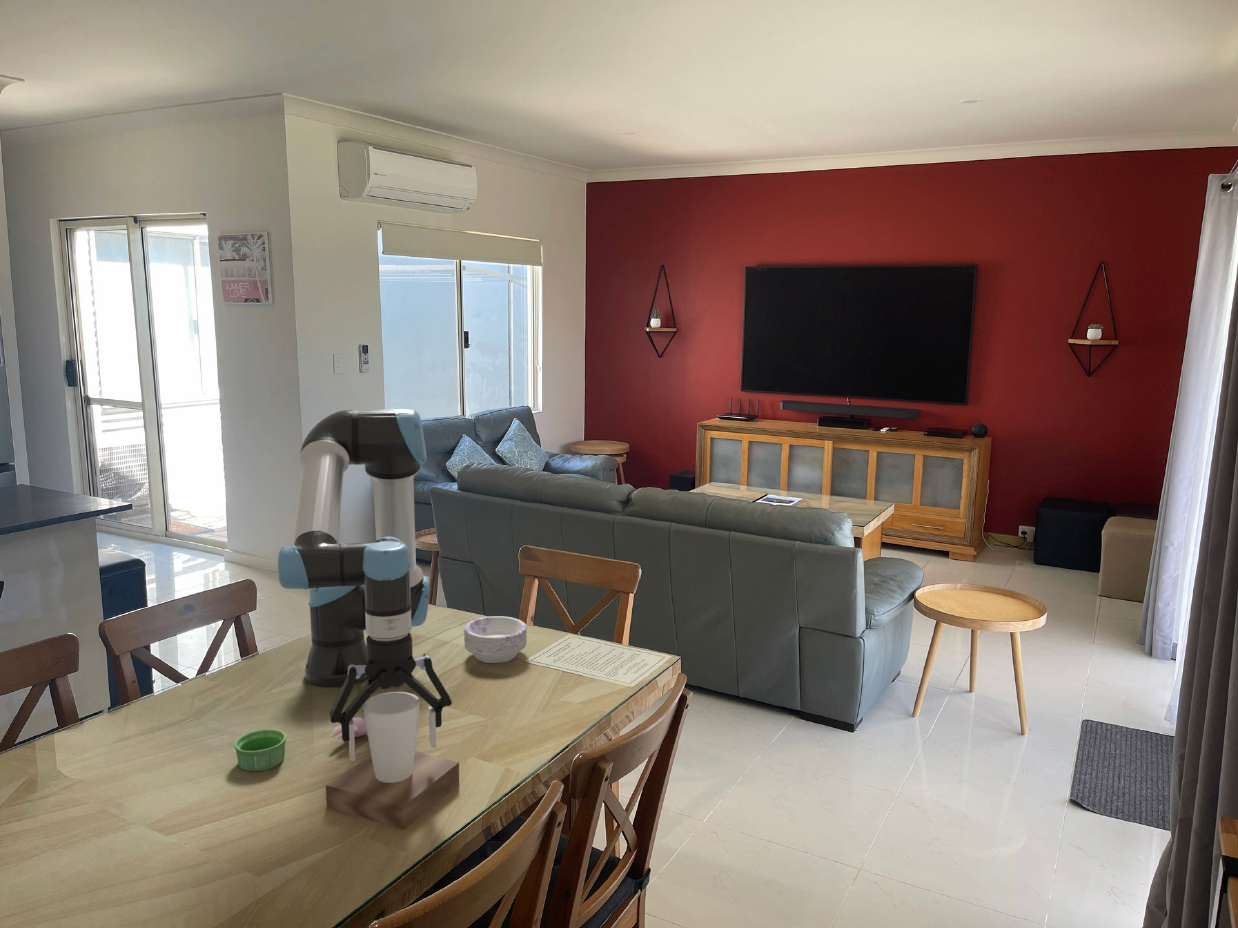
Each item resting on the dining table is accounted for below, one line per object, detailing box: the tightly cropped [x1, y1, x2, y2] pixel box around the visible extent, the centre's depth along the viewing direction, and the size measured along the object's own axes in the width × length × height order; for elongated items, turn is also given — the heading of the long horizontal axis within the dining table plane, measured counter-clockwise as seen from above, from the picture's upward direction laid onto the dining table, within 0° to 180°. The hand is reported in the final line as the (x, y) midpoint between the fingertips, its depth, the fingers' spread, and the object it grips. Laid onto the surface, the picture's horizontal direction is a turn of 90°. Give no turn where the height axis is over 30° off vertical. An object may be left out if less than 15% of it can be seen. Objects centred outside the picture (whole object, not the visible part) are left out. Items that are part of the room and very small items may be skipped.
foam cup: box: [362, 691, 421, 783], centre depth 152 cm, size 10×9×13 cm
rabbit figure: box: [331, 709, 368, 739], centre depth 176 cm, size 6×6×15 cm
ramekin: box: [234, 728, 287, 772], centre depth 165 cm, size 9×9×4 cm
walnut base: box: [325, 750, 460, 830], centre depth 154 cm, size 16×16×4 cm
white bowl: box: [463, 615, 528, 664], centre depth 216 cm, size 15×15×8 cm
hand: (393, 750), depth 153 cm, fingers open, 13 cm apart
